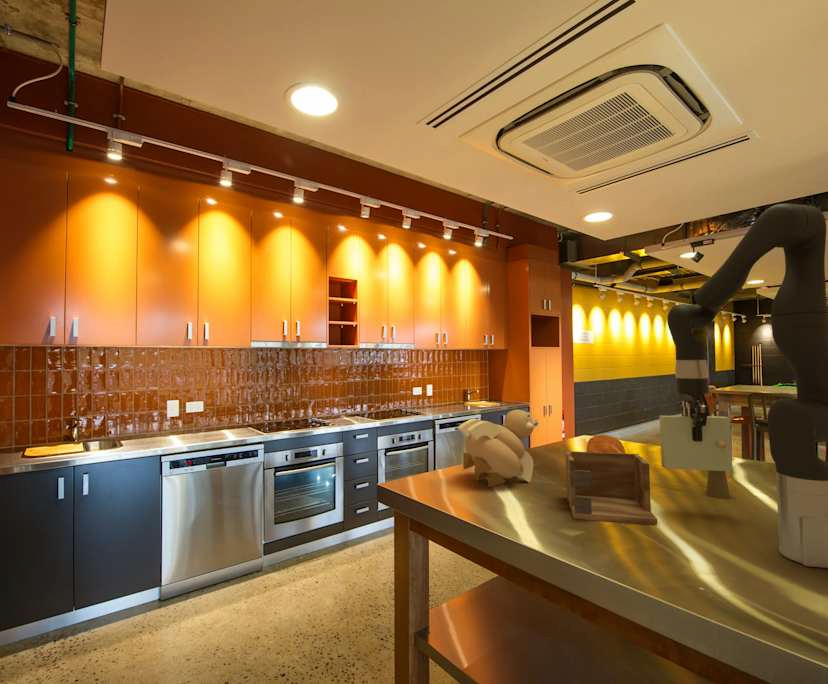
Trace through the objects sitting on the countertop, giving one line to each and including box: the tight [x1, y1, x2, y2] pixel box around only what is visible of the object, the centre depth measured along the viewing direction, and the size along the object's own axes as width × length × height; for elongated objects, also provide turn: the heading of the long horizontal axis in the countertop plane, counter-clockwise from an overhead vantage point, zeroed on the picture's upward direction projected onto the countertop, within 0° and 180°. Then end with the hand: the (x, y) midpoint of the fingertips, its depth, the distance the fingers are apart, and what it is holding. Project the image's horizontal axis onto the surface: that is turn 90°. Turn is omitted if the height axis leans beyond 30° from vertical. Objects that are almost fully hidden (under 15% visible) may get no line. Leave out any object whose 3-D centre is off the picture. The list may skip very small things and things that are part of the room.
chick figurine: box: [457, 409, 539, 488], centre depth 147 cm, size 30×28×23 cm
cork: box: [705, 470, 731, 499], centre depth 130 cm, size 6×6×11 cm
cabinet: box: [564, 450, 658, 525], centre depth 118 cm, size 18×20×14 cm
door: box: [658, 415, 734, 472], centre depth 115 cm, size 4×16×14 cm, turn 76°
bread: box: [586, 434, 627, 454], centre depth 144 cm, size 14×26×16 cm, turn 156°
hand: (694, 439), depth 116 cm, fingers closed on door, 3 cm apart
